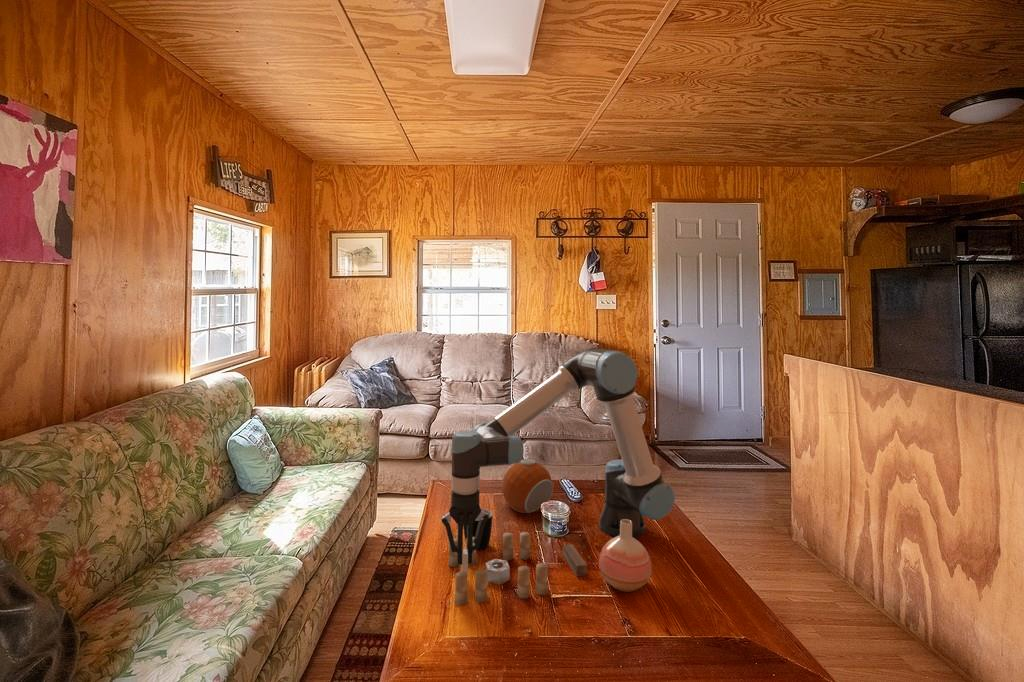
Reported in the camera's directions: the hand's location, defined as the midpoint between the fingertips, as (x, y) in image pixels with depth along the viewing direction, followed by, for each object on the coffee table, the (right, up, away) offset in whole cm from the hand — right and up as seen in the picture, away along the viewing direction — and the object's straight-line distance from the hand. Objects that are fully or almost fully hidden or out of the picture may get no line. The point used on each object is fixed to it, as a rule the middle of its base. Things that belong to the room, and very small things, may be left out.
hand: (464, 574), depth 129 cm
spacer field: (+8, -2, +2) cm, 9 cm away
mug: (+1, -1, +21) cm, 21 cm away
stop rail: (+31, -2, +9) cm, 32 cm away
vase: (+43, -3, -1) cm, 43 cm away
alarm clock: (+18, +1, +50) cm, 54 cm away
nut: (+9, -2, +2) cm, 9 cm away
